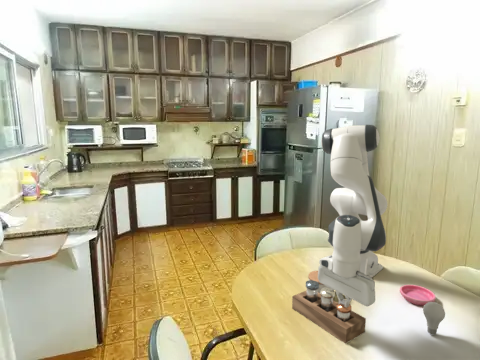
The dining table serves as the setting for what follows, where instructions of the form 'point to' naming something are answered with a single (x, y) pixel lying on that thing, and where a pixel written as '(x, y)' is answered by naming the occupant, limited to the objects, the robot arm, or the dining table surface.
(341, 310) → the copper-lid spice jar
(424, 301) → the saucer
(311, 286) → the grey-lidded spice jar
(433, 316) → the lightbulb
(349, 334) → the socket board
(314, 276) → the lidded jar
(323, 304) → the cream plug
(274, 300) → the dining table surface
